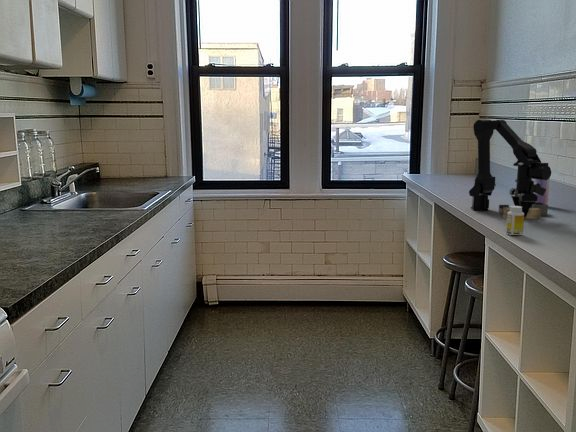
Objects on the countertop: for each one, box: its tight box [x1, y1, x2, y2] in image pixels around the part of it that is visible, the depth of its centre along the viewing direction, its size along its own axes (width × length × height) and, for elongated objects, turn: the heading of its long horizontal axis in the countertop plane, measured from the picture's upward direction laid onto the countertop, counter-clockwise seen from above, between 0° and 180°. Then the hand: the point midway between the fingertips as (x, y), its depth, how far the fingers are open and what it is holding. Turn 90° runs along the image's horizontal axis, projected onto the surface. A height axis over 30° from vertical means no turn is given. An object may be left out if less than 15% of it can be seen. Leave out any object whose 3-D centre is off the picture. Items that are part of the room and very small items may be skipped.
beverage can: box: [534, 177, 551, 206], centre depth 266 cm, size 6×6×15 cm
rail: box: [502, 208, 541, 220], centre depth 239 cm, size 14×4×4 cm, turn 95°
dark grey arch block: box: [498, 204, 511, 216], centre depth 249 cm, size 4×8×3 cm, turn 174°
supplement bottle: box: [505, 205, 525, 236], centre depth 207 cm, size 6×6×10 cm
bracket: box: [530, 202, 549, 217], centre depth 248 cm, size 6×8×4 cm
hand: (521, 215), depth 240 cm, fingers open, 8 cm apart
